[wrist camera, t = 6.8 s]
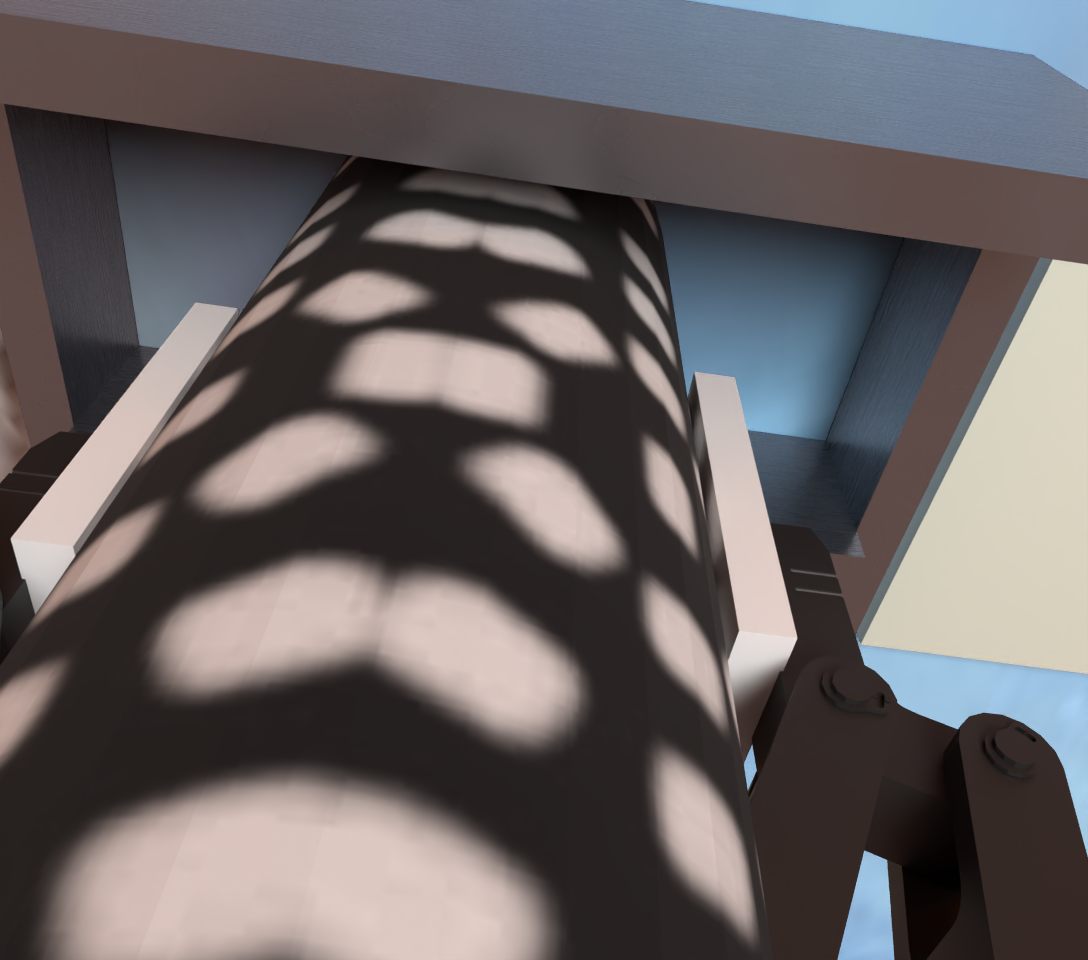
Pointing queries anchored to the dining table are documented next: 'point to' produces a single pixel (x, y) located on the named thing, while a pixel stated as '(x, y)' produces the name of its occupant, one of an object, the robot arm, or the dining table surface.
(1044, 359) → the mat
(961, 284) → the tray
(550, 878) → the spotted tube
